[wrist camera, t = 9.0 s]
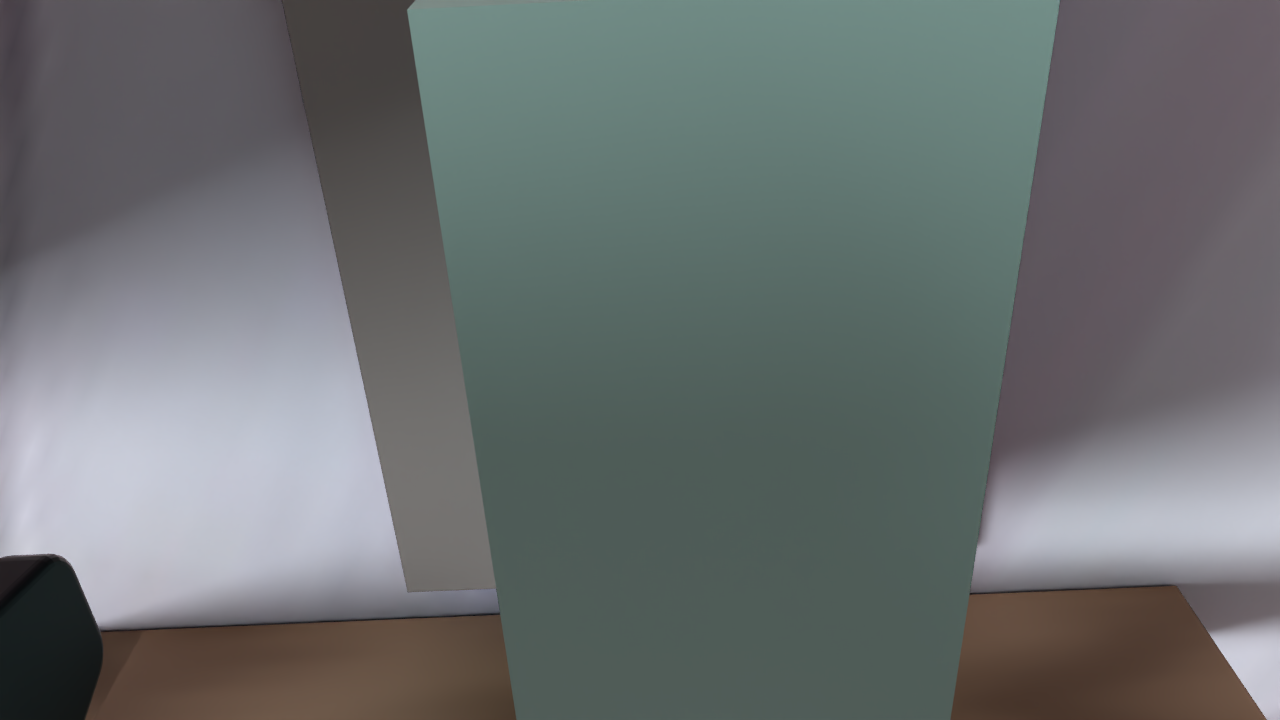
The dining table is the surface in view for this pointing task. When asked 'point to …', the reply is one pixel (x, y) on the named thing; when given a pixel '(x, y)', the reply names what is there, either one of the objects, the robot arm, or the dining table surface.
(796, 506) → the teal rectangular block
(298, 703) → the rack
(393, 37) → the mat
